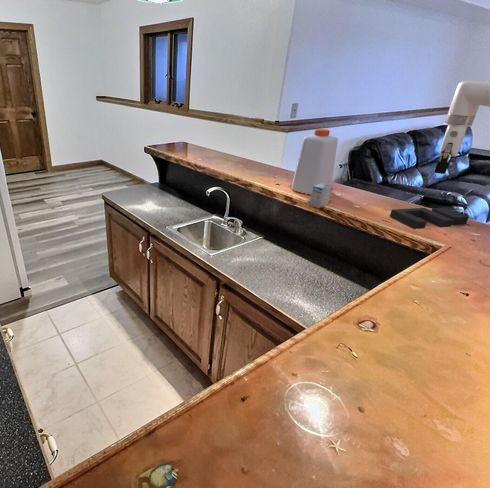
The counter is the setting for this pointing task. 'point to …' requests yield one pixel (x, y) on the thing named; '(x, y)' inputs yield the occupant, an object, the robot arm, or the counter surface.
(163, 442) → the counter surface
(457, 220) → the black pad
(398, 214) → the base pad
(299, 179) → the plastic bottle
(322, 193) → the medicine box
